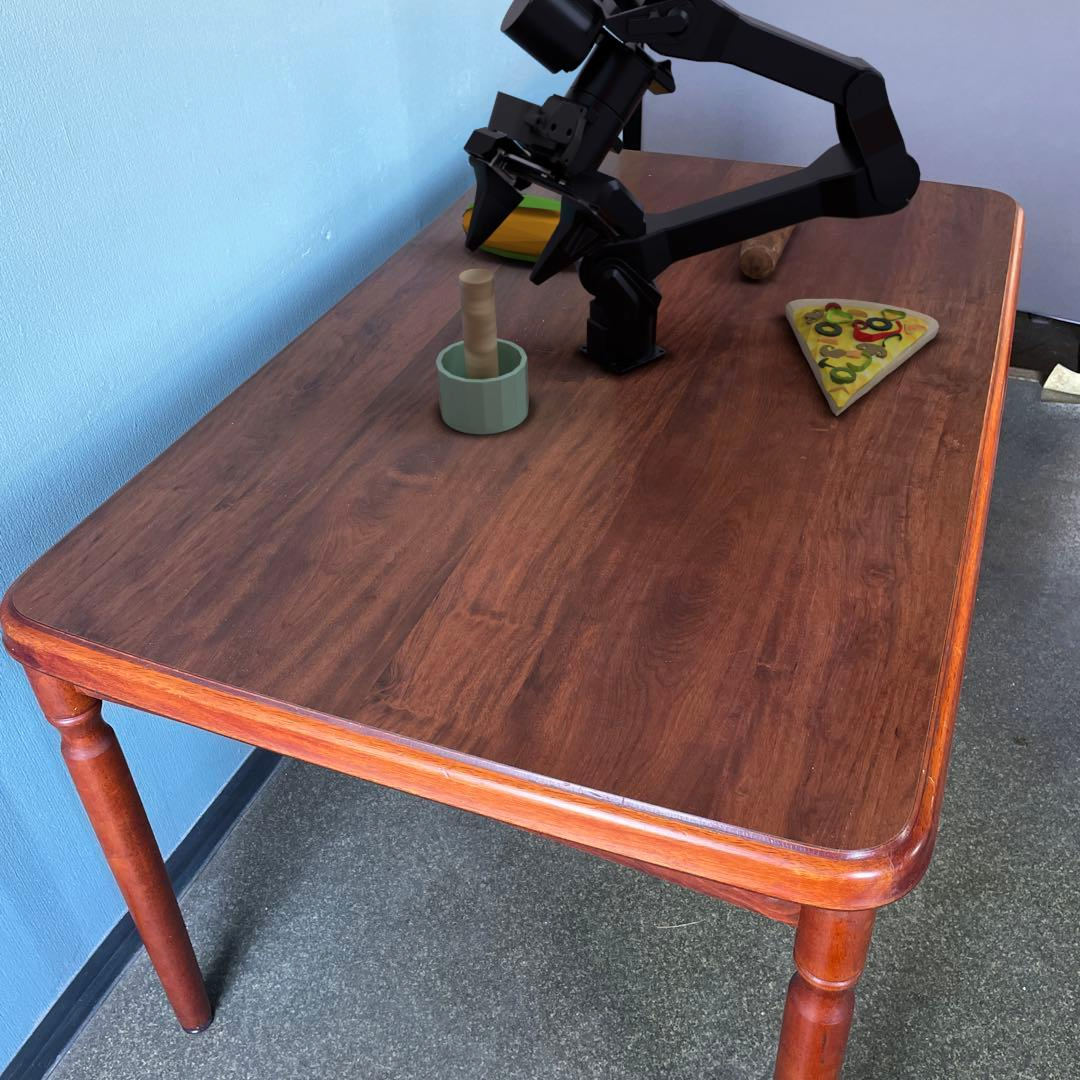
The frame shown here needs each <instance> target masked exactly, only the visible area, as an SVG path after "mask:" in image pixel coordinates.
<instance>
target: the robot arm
mask: <svg viewBox="0 0 1080 1080" xmlns="http://www.w3.org/2000/svg"><path fill="white" fill-rule="evenodd" d="M499 30H500V32H501V33H502V34H504V36H506V37H507V38H508V39H509V40H511V41H512V42H513V43H514V44H515V45H517V46H518V47H519V48H520V49H522V50H523V51H524V52H525V53H526V54H527V55H529V56H530V57H531V58H533V59H534V60H535V61H536V62H537V63H539V64H540V66H542V67H544V69H546V70H547V71H548V72H549V73H551V74H552V75H557V74H559V72H562V71H563V72H564V73H565V74H568V73H572V72H574V71H576V70H577V69H578V68H579V67H580V66H581V65H582V64H583V65H582V67H581V68H580V70H579V71H578V73H577V75H576V77H575V78H574V79H573V82H572V83H571V84H570V86H569V88H568V90H567V91H566V93H565V95H563V96H562V95H559V94H558V93H557V94H556V93H553V94H552V95H550V96H548V97H547V99H545V101H544V103H543V104H542V105H540V104H537V103H534V102H531V101H528V100H526V99H522V98H520V97H516V96H514V95H512V94H509V93H505V92H503V91H499V90H497V93H496V95H495V100H494V102H493V106H492V110H491V113H490V117H489V121H488V124H487V126H483V127H479V128H475V129H474V130H473V131H472V133H471V134H470V136H469V138H468V139H467V141H466V142H465V144H464V146H463V148H462V149H463V151H465V152H466V153H467V154H468V164H469V165H470V167H472V168H473V172H474V177H475V181H476V188H475V196H474V201H473V203H474V206H473V210H472V215H471V219H470V223H469V228H468V232H467V235H466V237H465V241H464V247H465V249H467V250H468V251H470V252H471V253H474V252H476V251H477V250H478V249H479V248H481V247H480V246H481V245H482V244H483V243H484V242H485V241H486V240H487V239H488V238H489V237H490V236H491V235H492V234H493V233H494V232H495V230H496V229H497V228H498V227H499V226H500V225H501V224H502V223H503V222H504V221H505V219H506V218H507V217H508V216H509V215H510V214H511V213H512V212H513V211H514V210H515V208H516V207H517V206H518V205H519V204H520V203H521V202H522V201H523V200H524V198H525V197H523V196H522V195H521V194H522V193H520V192H522V191H524V190H526V189H528V188H531V186H532V184H534V185H536V186H538V187H540V188H543V189H545V190H548V191H550V192H553V193H555V194H557V195H560V202H561V210H560V220H559V223H558V225H557V227H556V228H555V230H554V232H553V234H552V235H551V237H550V239H549V241H548V242H547V244H546V246H545V248H544V249H543V251H542V253H541V255H540V256H539V258H538V260H537V262H535V264H534V266H533V268H532V270H531V273H530V275H529V278H528V280H529V282H531V283H532V284H534V285H535V286H541V285H542V284H543V283H544V282H546V281H548V280H550V279H551V278H553V277H554V276H556V275H557V274H559V273H560V272H563V270H565V269H566V268H568V267H569V266H571V265H572V264H574V266H575V270H576V273H577V276H578V279H579V281H580V283H581V286H582V288H583V289H584V290H585V292H587V293H588V294H589V295H591V296H593V297H594V299H591V300H589V317H587V319H586V344H583V345H580V346H579V350H578V351H579V353H580V354H581V355H583V356H585V357H587V358H589V360H591V361H593V362H595V363H597V364H598V365H600V366H602V367H603V368H605V369H607V370H608V371H610V372H612V373H614V374H615V375H618V376H619V375H620V376H622V375H624V374H627V373H629V372H632V371H634V370H636V369H639V368H641V367H644V366H647V365H649V364H651V363H653V362H655V361H658V360H660V359H662V358H665V357H666V356H667V350H666V349H664V348H662V347H660V346H659V345H657V332H658V331H657V329H658V310H659V307H660V304H661V302H662V300H663V296H662V293H661V290H660V288H659V286H658V284H657V281H656V280H655V279H657V277H658V276H660V275H661V274H663V272H664V271H666V270H667V269H668V268H669V267H671V265H673V264H676V263H677V262H679V261H683V260H686V259H690V258H693V257H696V256H699V255H702V254H705V253H708V252H712V251H715V250H719V249H722V248H725V247H728V246H731V245H735V244H737V243H742V242H743V241H745V240H748V239H751V238H754V237H758V236H761V235H764V234H767V233H770V232H774V231H777V230H780V229H783V228H787V227H790V226H793V225H795V226H796V225H799V224H803V223H806V222H809V221H812V220H816V219H820V218H834V219H846V220H847V219H848V220H860V219H870V218H875V217H882V216H883V217H884V216H888V215H894V214H895V213H898V212H900V211H902V210H904V209H905V208H906V207H908V206H909V205H910V203H911V200H912V199H913V198H914V196H915V195H916V193H917V192H918V189H919V186H920V184H921V175H922V174H921V169H920V165H919V164H918V162H917V160H916V159H915V158H914V156H912V155H911V154H910V152H908V151H907V147H906V143H905V140H904V137H903V134H902V132H901V128H900V127H899V124H898V122H897V119H896V116H895V114H894V111H893V109H892V106H891V103H890V99H889V94H888V91H887V87H886V79H885V78H884V76H883V74H882V72H880V71H879V70H878V69H877V68H876V67H874V66H873V65H872V64H870V63H869V62H868V61H867V60H866V59H864V58H863V57H859V56H849V55H847V54H843V53H842V52H839V51H837V50H834V49H832V48H829V47H827V46H824V45H822V44H819V43H817V42H814V41H812V40H810V39H807V38H804V37H802V36H800V35H798V34H794V33H792V32H790V31H788V30H785V29H782V28H780V27H777V26H775V25H772V24H771V23H768V22H765V21H763V20H760V19H758V18H756V17H753V16H750V15H748V14H745V13H743V12H741V11H739V10H737V9H736V8H735V7H733V6H732V5H730V4H729V3H727V2H726V1H725V0H512V2H511V3H510V5H509V7H508V9H507V10H506V12H505V15H504V17H503V19H502V21H501V24H500V27H499ZM638 44H645V45H647V47H648V48H649V49H650V50H651V51H653V52H654V53H656V54H658V55H659V56H662V57H668V58H671V59H672V58H673V59H678V60H685V61H689V62H696V63H720V64H726V65H731V66H734V67H737V68H739V69H742V70H744V71H747V72H750V73H752V74H755V75H757V76H761V77H763V78H765V79H767V80H771V81H773V82H775V83H778V84H781V85H783V86H786V87H788V88H790V89H794V90H796V91H799V92H801V93H804V94H806V95H809V96H812V97H814V98H817V99H819V100H822V101H825V102H827V103H829V104H832V105H833V112H834V122H835V130H836V134H837V137H838V143H836V144H833V145H832V146H831V147H829V148H827V150H824V152H823V153H822V154H821V155H819V156H818V157H817V158H815V160H814V161H812V162H811V163H810V164H809V165H808V166H806V167H804V168H801V169H799V170H795V171H792V172H789V173H785V174H783V175H779V176H776V177H773V178H770V179H766V180H764V181H761V182H757V183H754V184H751V185H747V186H744V187H740V188H738V189H735V190H731V191H728V192H725V193H722V194H719V195H716V196H712V197H710V198H706V199H703V200H700V201H697V202H693V203H691V204H687V205H685V206H681V207H677V208H674V209H672V210H668V211H666V212H659V213H652V212H651V213H650V212H645V206H644V205H643V204H642V202H641V201H639V199H638V198H636V196H635V195H634V194H633V193H632V192H631V190H629V189H628V188H627V187H626V186H625V185H624V184H623V182H621V180H619V178H617V177H614V176H612V175H609V174H607V173H605V172H602V171H599V168H600V167H601V165H602V164H603V162H604V161H605V159H606V157H607V156H608V155H609V153H610V152H611V153H614V154H616V155H620V154H621V152H622V151H623V149H624V148H625V146H626V143H625V142H624V141H623V140H622V138H620V137H619V136H620V135H621V133H622V131H623V130H624V128H625V127H626V125H627V123H628V122H629V121H630V119H631V117H632V115H633V114H634V112H635V110H636V109H637V107H638V105H639V104H640V103H641V101H642V99H643V97H644V96H645V94H646V92H647V91H649V92H650V93H651V94H653V96H660V95H668V94H674V93H675V92H676V90H677V86H676V82H675V78H674V75H673V72H672V65H673V63H672V60H671V59H663V60H658V61H657V60H656V59H655V58H653V57H652V56H651V55H650V54H649V53H648V52H647V51H646V50H645V49H643V48H642V47H641V46H640V45H638ZM527 152H528V153H529V154H530V155H529V154H528V153H527ZM560 182H561V183H560Z"/></svg>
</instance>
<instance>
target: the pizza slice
mask: <svg viewBox="0 0 1080 1080" xmlns="http://www.w3.org/2000/svg"><path fill="white" fill-rule="evenodd" d="M785 318H786V319H787V321H788V323H789V325H790V327H791V329H792V331H793V333H794V335H795V338H796V340H797V341H798V345H799V346H800V349H801V352H802V353H803V355H804V357H805V359H806V361H807V362H808V365H809V367H810V368H811V371H812V373H813V376H814V377H815V379H816V381H817V384H818V386H819V387H820V389H821V392H822V394H823V395H824V396H825V399H826V400H827V402H828V406H829V408H830V410H831V412H832V413H833V414H834V415H835V416H836V417H838V416H839V415H840V414H841V413H843V412H844V411H845V410H847V408H849V407H850V406H851V405H852V404H853V403H855V402H856V401H857V400H858V399H860V398H861V397H863V396H864V395H865V394H866V393H868V392H869V391H870V390H871V389H873V388H874V387H875V386H876V385H878V383H880V382H881V381H882V380H884V378H886V377H887V376H888V375H890V374H891V373H892V372H893V371H895V370H896V369H897V368H898V367H900V366H901V365H902V364H904V363H905V362H906V361H907V360H908V359H909V358H911V357H912V356H913V355H914V354H915V353H916V352H918V351H920V349H922V348H923V347H924V346H925V345H926V344H928V343H929V342H930V341H932V340H933V339H934V338H936V336H937V334H938V332H939V327H940V324H939V322H938V320H936V319H935V318H933V317H932V316H929V315H927V314H925V313H921V312H919V311H915V310H912V309H908V308H905V307H899V306H895V305H890V304H884V303H879V302H871V301H865V300H858V299H857V300H856V299H844V298H803V299H795V300H792V301H789V302H788V303H787V304H786V305H785Z"/></svg>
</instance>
